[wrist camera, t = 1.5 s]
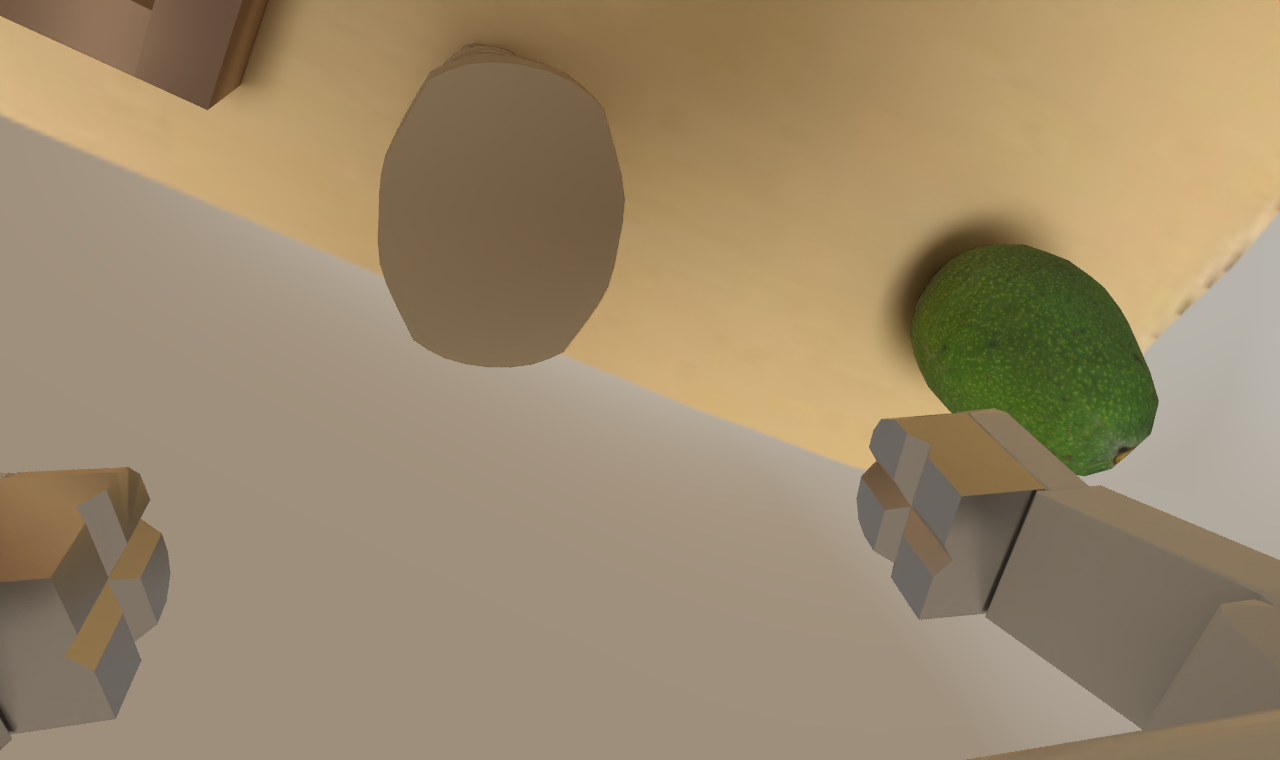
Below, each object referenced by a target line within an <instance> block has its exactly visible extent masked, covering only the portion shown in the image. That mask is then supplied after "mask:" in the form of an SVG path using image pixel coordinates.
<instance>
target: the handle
mask: <svg viewBox="0 0 1280 760" xmlns="http://www.w3.org/2000/svg"><path fill="white" fill-rule="evenodd" d="M624 200H625V198H624V191H623V183H622V175H621V171H620V167H619V163H618V159H617V156H616V152H615V148H614V144H613V140H612V137H611V133H610V130H609V126H608V123H607V119H606V116H605V112H604V109H603V108H602V106H601V105H600V103H599V102H598V101H597V100H596V99H595V98H594V97H593V96H592V95H591V94H590V93H589V92H588V91H587V90H586V89H585V88H584V87H583V86H581V85H580V84H579V83H577V82H576V81H575V80H574V79H572V78H571V77H570V76H568V75H567V74H565V73H563V72H560V71H558V70H556V69H554V68H552V67H550V66H547V65H545V64H542V63H539V62H535V61H531V60H527V59H524V58H520V57H517V56H515V55H514V54H513V53H512V52H510V51H508V50H507V49H505V50H504V49H500V48H497V47H493V46H478V45H476V44H469V45H467V46H464V47H463V48H462V49H461V51H460V52H458V53H457V54H455V55H454V56H452V57H451V58H450V59H449V60H448V61H447V62H446V63H445V64H444V65H443V66H441V67H439V68H437V69H435V70H433V71H431V72H430V74H429V75H428V77H427V79H426V80H425V82H424V84H423V85H422V87H421V89H420V90H419V92H418V94H417V95H416V97H415V99H414V100H413V102H412V104H411V106H410V107H409V109H408V111H407V113H406V115H405V116H404V118H403V120H402V122H401V124H400V126H399V127H398V129H397V131H396V134H395V136H394V138H393V140H392V142H391V144H390V146H389V149H388V151H387V153H386V155H385V160H384V164H383V168H382V173H381V182H380V191H379V224H378V246H379V258H380V265H381V268H382V271H383V274H384V278H385V281H386V284H387V286H388V288H389V290H390V293H391V295H392V297H393V299H394V301H395V303H396V306H397V308H398V310H399V312H400V314H401V316H402V318H403V320H404V322H405V324H406V326H407V328H408V330H409V332H410V334H411V336H412V338H413V340H414V341H416V342H417V343H419V344H420V345H422V346H423V347H425V348H426V349H428V350H430V351H432V352H434V353H436V354H438V355H440V356H442V357H444V358H446V359H450V360H453V361H457V362H460V363H464V364H469V365H477V366H484V367H516V366H524V365H531V364H535V363H538V362H541V361H544V360H546V359H549V358H551V357H554V356H556V355H558V354H560V353H562V352H564V351H565V349H566V348H567V347H568V345H569V344H570V343H571V341H572V340H573V339H574V337H575V336H576V335H577V333H578V332H579V331H580V329H581V328H582V327H583V325H584V324H585V323H586V321H587V320H588V319H589V317H590V316H591V314H592V313H593V312H594V310H595V309H596V307H597V306H598V304H599V302H600V301H601V299H602V297H603V295H604V293H605V292H606V290H607V288H608V285H609V282H610V279H611V275H612V272H613V269H614V265H615V260H616V254H617V249H618V244H619V239H620V233H621V228H622V223H623V212H624Z"/></svg>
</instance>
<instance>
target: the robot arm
mask: <svg viewBox="0 0 1280 760" xmlns="http://www.w3.org/2000/svg"><path fill="white" fill-rule="evenodd" d="M869 448H870V450H871V452H872V453H873V455H874V457H875V459H876V462H875V463H874V464H873V465H872V466H871V467H870V468H869V469H868V470H867V471H866V472H865V473H864V474H863V475H862V477H861V480H860V486H859V490H858V494H857V507H858V518H859V522H860V525H861V528H862V531H863V533H864V536H865V538H866V539H867V541H868V542H869V544H870V546H871V547H872V549H873V550H874V551H875V552H877V553H878V554H880V555H882V556H884V557H885V558H887V559H889V560H890V561H892V562H894V566H893V570H892V575H891V578H892V580H893V581H894V583H895V584H896V586H897V587H898V589H899V590H900V592H901V593H902V595H903V596H904V598H905V599H906V601H907V602H908V604H909V606H910V607H911V608H912V610H913V612H914V613H915V615H916V616H917V617H918V619H919V620H922V619H932V618H943V617H953V616H963V615H975V614H986V613H987V614H986V616H985V617H986V618H988V619H989V620H990V621H992V622H993V623H994V624H996V625H997V626H999V627H1000V628H1001V629H1003V630H1004V631H1006V632H1007V633H1008V634H1010V635H1011V636H1013V637H1014V638H1015V639H1017V640H1018V641H1020V642H1021V643H1022V644H1024V645H1025V646H1027V647H1028V648H1029V649H1031V650H1032V651H1034V652H1035V653H1036V654H1038V655H1039V656H1040V657H1042V658H1043V659H1045V660H1046V661H1048V662H1049V663H1050V664H1052V665H1053V666H1055V667H1056V668H1058V669H1059V670H1060V671H1061V672H1063V673H1064V674H1066V675H1067V676H1069V677H1070V678H1071V679H1073V680H1074V681H1075V682H1077V683H1078V684H1080V685H1081V686H1082V687H1084V688H1085V689H1087V690H1088V691H1090V692H1091V693H1092V694H1094V695H1095V696H1096V697H1098V698H1099V699H1101V700H1102V701H1103V702H1105V703H1106V704H1108V705H1109V706H1110V707H1112V708H1113V709H1115V710H1116V711H1117V712H1119V713H1120V714H1122V715H1123V716H1124V717H1126V718H1127V719H1129V720H1130V721H1131V722H1133V723H1134V724H1136V725H1137V726H1138V727H1140V728H1141V729H1142V731H1136V732H1130V733H1124V734H1118V735H1112V736H1106V737H1100V738H1093V739H1087V740H1081V741H1075V742H1069V743H1063V744H1057V745H1052V746H1045V747H1039V748H1033V749H1027V750H1021V751H1015V752H1009V753H1004V754H997V755H991V756H985V757H979V758H974V759H967V760H1280V560H1278V559H1275V558H1273V557H1271V556H1268V555H1266V554H1263V553H1261V552H1259V551H1256V550H1254V549H1252V548H1249V547H1247V546H1244V545H1242V544H1240V543H1237V542H1235V541H1232V540H1230V539H1228V538H1225V537H1223V536H1220V535H1218V534H1216V533H1213V532H1211V531H1208V530H1206V529H1203V528H1201V527H1198V526H1196V525H1194V524H1192V523H1189V522H1187V521H1184V520H1182V519H1180V518H1177V517H1175V516H1172V515H1170V514H1168V513H1165V512H1163V511H1160V510H1158V509H1156V508H1153V507H1151V506H1148V505H1146V504H1143V503H1141V502H1139V501H1136V500H1134V499H1131V498H1129V497H1127V496H1124V495H1122V494H1120V493H1117V492H1115V491H1112V490H1110V489H1108V488H1105V487H1103V486H1088V485H1087V484H1086V483H1085V482H1084V481H1082V480H1081V479H1080V478H1079V477H1078V476H1077V475H1076V474H1075V473H1074V472H1072V471H1071V470H1070V469H1069V468H1068V467H1067V466H1066V465H1065V464H1063V463H1062V462H1061V461H1060V460H1059V459H1058V458H1057V457H1056V456H1055V455H1053V454H1052V453H1051V452H1050V451H1049V450H1048V449H1047V448H1046V447H1045V446H1043V445H1042V444H1041V443H1040V442H1039V441H1038V440H1037V439H1036V438H1035V437H1033V436H1032V435H1031V434H1030V433H1029V432H1028V431H1027V430H1026V429H1025V428H1023V427H1022V426H1021V425H1020V424H1019V423H1018V422H1017V421H1016V420H1014V419H1013V418H1012V417H1011V416H1010V415H1009V414H1008V413H1006V412H1003V411H1000V410H998V409H995V408H993V409H983V410H972V411H962V412H957V413H951V414H939V415H926V416H913V417H900V418H887V419H881V420H880V422H879V423H878V424H877V426H876V427H875V429H874V431H873V434H872V438H871V442H870V445H869ZM149 501H150V498H149V495H148V493H147V490H146V488H145V485H144V483H143V480H142V478H141V475H140V474H139V473H137V472H136V471H134V470H132V469H131V468H129V467H121V468H100V469H80V470H79V469H78V470H57V471H35V472H18V473H16V474H14V473H0V750H1V749H2V748H3V747H4V746H5V745H6V744H7V743H9V741H11V739H12V737H11V734H17V733H24V732H31V731H37V730H45V729H51V728H58V727H64V726H71V725H78V724H85V723H92V722H98V721H105V720H112V719H116V717H117V715H118V712H119V710H120V708H121V706H122V703H123V701H124V699H125V697H126V694H127V692H128V690H129V687H130V685H131V683H132V681H133V679H134V676H135V674H136V672H137V670H138V667H139V665H140V663H141V658H140V655H139V653H138V650H137V648H136V645H135V641H137V640H138V639H139V638H140V637H142V636H143V635H144V634H145V633H147V632H148V631H149V630H150V629H152V628H153V627H154V626H156V625H157V623H158V621H159V619H160V616H161V614H162V611H163V609H164V606H165V604H166V601H167V594H168V587H169V579H170V566H169V557H168V551H167V548H166V545H165V541H164V539H163V536H162V533H161V532H159V531H158V530H156V529H155V528H153V527H152V526H150V525H149V524H147V523H146V522H145V521H143V520H142V519H140V518H141V516H142V515H143V513H144V511H145V509H146V507H147V505H148V503H149Z"/></svg>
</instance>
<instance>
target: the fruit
mask: <svg viewBox="0 0 1280 760" xmlns="http://www.w3.org/2000/svg"><path fill="white" fill-rule="evenodd" d="M910 337H911V341H912V346H913V351H914V355H915V358H916V361H917V364H918V366H919V369H920V371H921V373H922V375H923V377H924V379H925V381H926V383H927V385H928V387H929V388H930V389H931V390H932V391H933V393H934V394H935V395H936V396H937V397H938V398H939V400H940V401H941V402H942V403H943V404H944V405H945V406H946V407H947V409H948V410H949V411H950V412H951V413H957V412H962V411H972V410H983V409H993V408H995V409H998V410H1000V411H1003V412H1006V413H1008V414H1009V415H1010V416H1011V417H1012V418H1013V419H1014V420H1016V421H1017V422H1018V423H1019V424H1020V425H1021V426H1022V427H1023V428H1025V429H1026V430H1027V431H1028V432H1029V433H1030V434H1031V435H1032V436H1033V437H1035V438H1036V439H1037V440H1038V441H1039V442H1040V443H1041V444H1042V445H1043V446H1045V447H1046V448H1047V449H1048V450H1049V451H1050V452H1051V453H1052V454H1053V455H1055V456H1056V457H1057V458H1058V459H1059V460H1060V461H1061V462H1062V463H1063V464H1065V465H1066V466H1067V467H1068V468H1069V469H1070V470H1071V471H1072V472H1074V473H1075V474H1076V475H1081V476H1087V475H1090V474H1094V473H1097V472H1101V471H1105V470H1108V469H1112V468H1113V467H1114V466H1115V465H1116V464H1117V463H1119V462H1120V461H1121V460H1122V459H1123V458H1125V457H1126V456H1127V455H1128V454H1129V453H1130V452H1131V451H1132V450H1134V449H1135V448H1136V447H1137V446H1138V445H1139V444H1140V443H1141V442H1142V441H1143V440H1144V439H1146V437H1148V436H1149V435H1150V434H1151V431H1152V427H1153V423H1154V419H1155V415H1156V411H1157V407H1158V397H1157V394H1156V390H1155V387H1154V384H1153V380H1152V377H1151V373H1150V371H1149V368H1148V366H1147V364H1146V362H1145V359H1144V357H1143V355H1142V352H1141V350H1140V348H1139V346H1138V343H1137V341H1136V339H1135V337H1134V334H1133V332H1132V330H1131V328H1130V325H1129V323H1128V321H1127V319H1126V318H1125V316H1124V314H1123V313H1122V311H1121V309H1120V308H1119V306H1118V305H1117V304H1116V302H1115V301H1114V300H1113V299H1112V297H1111V296H1110V295H1109V293H1108V292H1107V291H1106V289H1105V288H1104V287H1103V286H1102V285H1100V284H1099V283H1098V282H1097V281H1096V280H1094V279H1093V278H1092V277H1091V276H1089V275H1088V274H1087V273H1085V272H1084V271H1082V270H1081V269H1080V268H1078V267H1077V266H1075V265H1074V264H1073V263H1071V262H1070V261H1068V260H1066V259H1063V258H1061V257H1058V256H1055V255H1053V254H1050V253H1048V252H1045V251H1042V250H1039V249H1036V248H1033V247H1030V246H1027V245H981V246H979V247H976V248H974V249H971V250H969V251H966V252H964V253H962V254H960V255H959V256H957V257H955V258H954V259H952V260H950V261H949V262H947V263H946V264H945V265H944V266H943V267H942V268H941V269H940V270H939V271H938V272H937V273H936V274H935V275H934V276H933V277H932V278H931V280H930V282H929V283H928V285H927V287H926V288H925V290H924V291H923V293H922V295H921V296H920V298H919V300H918V301H917V303H916V306H915V310H914V315H913V319H912V324H911V334H910Z"/></svg>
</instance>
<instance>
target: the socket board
mask: <svg viewBox="0 0 1280 760" xmlns="http://www.w3.org/2000/svg"><path fill="white" fill-rule="evenodd" d="M267 2H268V0H0V16H2V17H4V18H6V19H9V20H11V21H13V22H15V23H17V24H20V25H22V26H24V27H26V28H28V29H31V30H33V31H35V32H37V33H39V34H42V35H44V36H46V37H48V38H50V39H53V40H55V41H57V42H59V43H61V44H64V45H66V46H68V47H70V48H72V49H75V50H77V51H79V52H81V53H83V54H86V55H88V56H90V57H92V58H94V59H97V60H99V61H101V62H103V63H105V64H108V65H110V66H112V67H114V68H116V69H119V70H121V71H123V72H125V73H127V74H130V75H132V76H134V77H136V78H138V79H141V80H143V81H145V82H147V83H149V84H152V85H154V86H156V87H158V88H160V89H163V90H165V91H167V92H169V93H171V94H174V95H176V96H178V97H180V98H182V99H185V100H187V101H189V102H191V103H193V104H196V105H198V106H200V107H202V108H204V109H207V110H208V109H210V108H211V107H212V106H214V105H215V104H216V103H217V102H219V101H220V100H221V99H223V98H224V97H225V96H227V95H228V94H229V93H230V92H232V91H233V90H234V89H236V88H237V87H238V86H240V84H241V81H242V78H243V75H244V72H245V69H246V66H247V62H248V59H249V56H250V53H251V50H252V47H253V44H254V41H255V38H256V35H257V32H258V29H259V26H260V23H261V20H262V17H263V14H264V11H265V8H266V5H267Z"/></svg>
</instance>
